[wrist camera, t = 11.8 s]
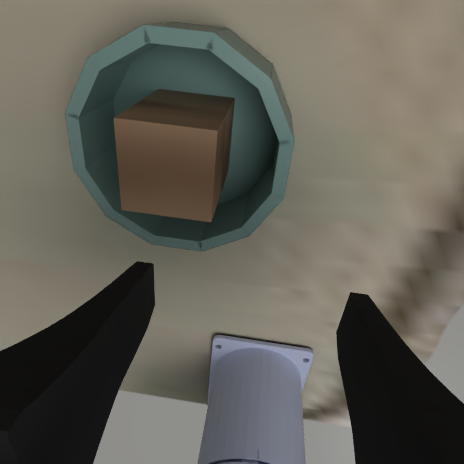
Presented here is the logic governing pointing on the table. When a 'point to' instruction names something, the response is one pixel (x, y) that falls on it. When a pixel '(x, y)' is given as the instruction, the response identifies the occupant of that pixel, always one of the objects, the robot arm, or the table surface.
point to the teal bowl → (193, 81)
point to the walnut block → (174, 153)
